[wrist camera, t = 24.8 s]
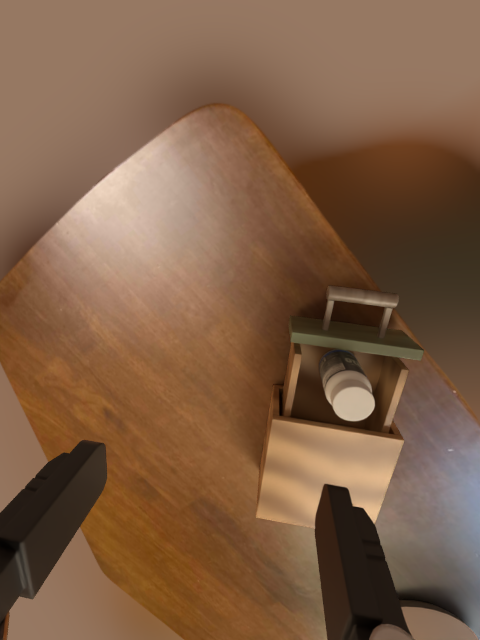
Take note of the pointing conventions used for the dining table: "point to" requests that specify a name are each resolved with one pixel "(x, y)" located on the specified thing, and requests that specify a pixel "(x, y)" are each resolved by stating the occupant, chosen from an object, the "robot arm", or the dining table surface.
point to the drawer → (364, 343)
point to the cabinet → (321, 465)
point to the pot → (434, 622)
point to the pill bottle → (346, 385)
